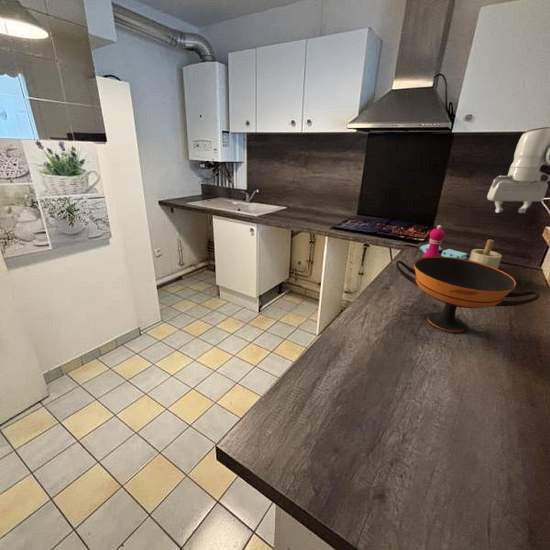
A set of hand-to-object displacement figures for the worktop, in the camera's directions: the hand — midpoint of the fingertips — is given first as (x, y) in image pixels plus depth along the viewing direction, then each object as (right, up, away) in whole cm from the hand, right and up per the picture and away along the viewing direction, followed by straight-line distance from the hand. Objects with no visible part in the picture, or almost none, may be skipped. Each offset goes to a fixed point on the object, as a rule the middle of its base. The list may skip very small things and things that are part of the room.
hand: (509, 212), depth 115 cm
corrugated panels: (-1, -16, +34) cm, 37 cm away
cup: (-39, -40, -24) cm, 61 cm away
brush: (-4, -25, +12) cm, 28 cm away
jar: (-4, -25, +12) cm, 28 cm away
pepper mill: (-21, -21, +21) cm, 37 cm away
